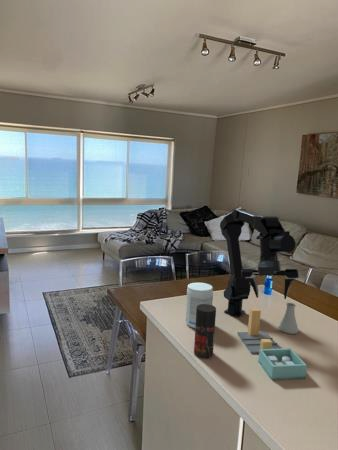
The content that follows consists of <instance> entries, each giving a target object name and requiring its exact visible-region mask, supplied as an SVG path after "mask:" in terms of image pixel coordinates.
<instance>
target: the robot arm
mask: <svg viewBox="0 0 338 450" xmlns="http://www.w3.org/2000/svg"><path fill="white" fill-rule="evenodd" d="M219 223H220V224H219V227H220V231H221V235H222V236H223V238H224V239H225V240H226V244H227V245H226V247H227V252H228V263H229V270H230V277H229V278H228V282H227V287H226V289H224V290H223V297H224V298H225V299H227V301H228V302H227V308H226V309H225V310H224V311H223V312H224V314H228V315H232V316H235V317H238V318H239V317H240V316H242V315H243V314H244V313H245V312H246V311H245V310H243V301H244V300H248V299H249V296H250V294H251V293H250V292H251V287H252V289H253V292H254V295H255V297H256V298H257V299H259V285H258V284H259V283H258V276H260V277H262V276H267V277H273V276H281V277H282V276H283V277H284V276H285V278H284V292H283V293H284V294H283V295H284V296H283V298H284V300H286V299H287V297H288V294H289V290H290V287H291V285H292V282H293V281H295V280H297V279H299V278H300V277H301V273H300V269H299V268H298V267H287V268H285V269H284V270H283V269H281V268H282V267H281V263H280V260H279V253H282V254H283V253H287V254H288V253H292V252H293V251H295V248H296V246H297V245H296V240H295V238H294V237H293V236H292V235H291V233H290V231H289V230H288V231H287V230H285V229H284V226H283V225H282V223H281V222H280V220H279V217H278V216H276V215H261V214H258V213H255V212H251V211H248V210H247V209H245V208H235V209H233V210H232V212H230V213H229V214H227V215H226V216H224V217H223V218H222V220H221V221H220V222H219ZM245 223H247V224H249V225H251V226H253V229H254V230H255V231H257V232H258V233H259V234H258V235H257V236H256V238H255V239H256V240H259V251H260V252H259V253H260V254H259V255H260V256H259V257H260V259H259V262H258V264H257V269H256V268H255V267H244V268H243V262H242V261H243V260H242V255H241V247H240V240H239V239H240V237H241V234H242V232H243V231H242V228H244V226H245Z"/></svg>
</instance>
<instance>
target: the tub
mask: <svg viewBox="0 0 338 450" xmlns="http://www.w3.org/2000/svg"><path fill="white" fill-rule="evenodd" d="M257 362H258V364H259V365H260V366H261V368H262V369H263V370H264V372H265V373H266V375H267V376H268V377H269V379H270V381H278V380H280V381H282V380H298V379H299V380H301V379H302V380H303V379H306V375H307V368H308V367H307V365H308V364H306V363H305V361H304V360H302V359H301V358H300V357H299V355H298V354H296V353H295V351H294V350H293V349H292V348H281V349H259V354H258V361H257Z"/></svg>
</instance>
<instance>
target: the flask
mask: <svg viewBox="0 0 338 450" xmlns="http://www.w3.org/2000/svg"><path fill="white" fill-rule="evenodd" d="M296 306H297V304H295V303H294V302H287V303H286V310H285V313H284V316H283V317H282V319H281V320H280V323H279V325H278V329H279V331H280V332H283V333H286V334H290V335H292V334H293V335H297V334H298V333H299V332H300V331H299V327H298V323H297V319H296V315H295V307H296Z"/></svg>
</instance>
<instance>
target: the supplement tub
mask: <svg viewBox="0 0 338 450" xmlns="http://www.w3.org/2000/svg"><path fill="white" fill-rule="evenodd" d="M213 297H214V287H213V285H211V284H209V283H206V282H191V283H188V285H187V289H186V304H185V305H186V309H185V310H186V311H185V323H186V324H187V326H188V327H190V328H193V329H195V325H196V309H197V306H198V305H200V304H209V305H212V306H213V299H214V298H213Z"/></svg>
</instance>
